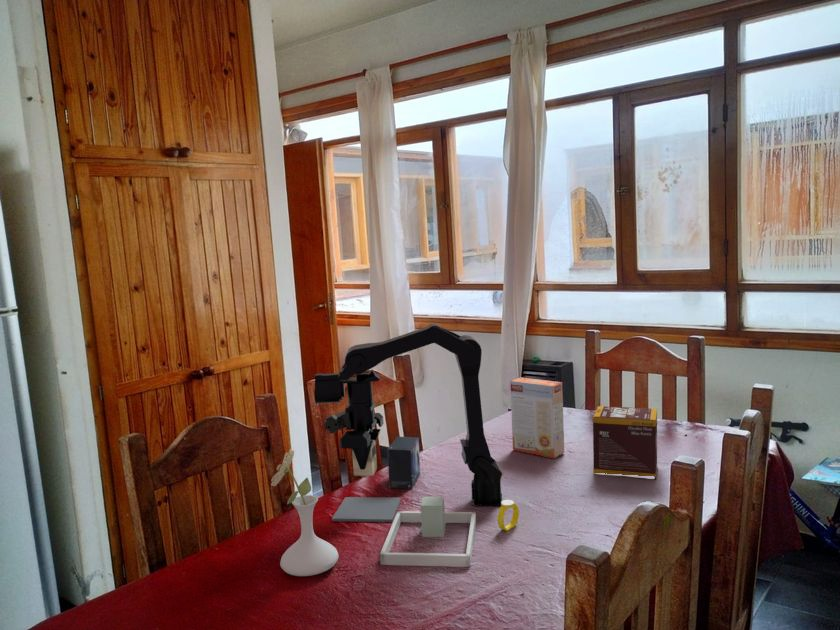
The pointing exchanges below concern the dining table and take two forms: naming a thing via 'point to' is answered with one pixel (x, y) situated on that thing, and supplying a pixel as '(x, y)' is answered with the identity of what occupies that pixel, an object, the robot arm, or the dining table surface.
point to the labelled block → (370, 465)
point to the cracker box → (537, 416)
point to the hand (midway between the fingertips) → (365, 465)
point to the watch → (504, 506)
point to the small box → (403, 462)
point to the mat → (367, 509)
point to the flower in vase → (304, 532)
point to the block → (433, 517)
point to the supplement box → (625, 441)
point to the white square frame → (428, 558)
